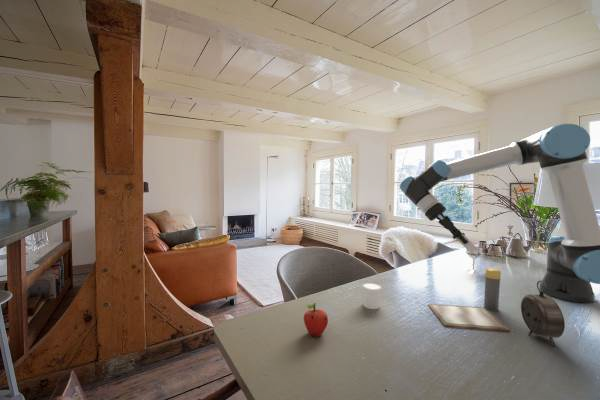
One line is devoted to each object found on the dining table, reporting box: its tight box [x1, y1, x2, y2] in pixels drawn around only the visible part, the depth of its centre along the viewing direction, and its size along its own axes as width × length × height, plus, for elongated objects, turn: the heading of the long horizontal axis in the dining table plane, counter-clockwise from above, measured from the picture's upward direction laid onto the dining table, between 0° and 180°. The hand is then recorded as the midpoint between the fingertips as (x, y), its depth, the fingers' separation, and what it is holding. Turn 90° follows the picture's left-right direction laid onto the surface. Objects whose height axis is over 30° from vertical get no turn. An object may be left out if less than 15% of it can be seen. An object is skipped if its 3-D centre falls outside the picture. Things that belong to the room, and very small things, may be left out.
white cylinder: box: [361, 282, 383, 310], centre depth 92 cm, size 7×7×7 cm
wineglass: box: [465, 246, 483, 274], centre depth 129 cm, size 7×7×12 cm
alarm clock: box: [520, 280, 566, 348], centre depth 73 cm, size 11×5×16 cm, turn 168°
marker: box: [483, 267, 502, 312], centre depth 91 cm, size 4×4×14 cm
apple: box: [303, 302, 329, 337], centre depth 74 cm, size 8×7×10 cm
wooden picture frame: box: [427, 303, 511, 332], centre depth 85 cm, size 18×14×1 cm
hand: (474, 251), depth 95 cm, fingers open, 13 cm apart
